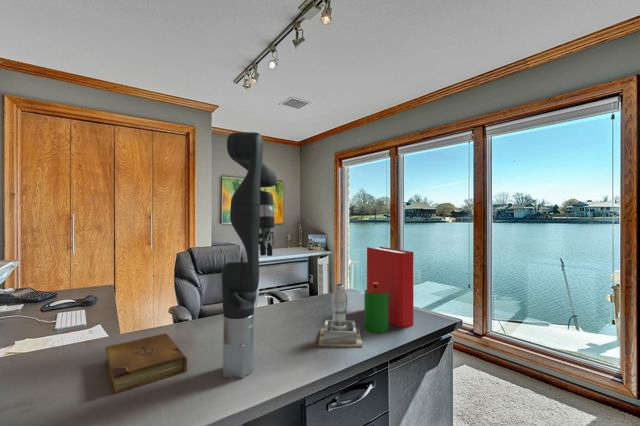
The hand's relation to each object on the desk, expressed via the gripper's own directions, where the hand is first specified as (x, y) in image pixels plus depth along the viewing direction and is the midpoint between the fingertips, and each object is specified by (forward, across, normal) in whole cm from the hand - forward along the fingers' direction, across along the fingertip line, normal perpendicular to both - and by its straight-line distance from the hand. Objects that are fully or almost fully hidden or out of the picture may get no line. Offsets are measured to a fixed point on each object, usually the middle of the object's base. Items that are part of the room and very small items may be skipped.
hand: (266, 255), depth 125 cm
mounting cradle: (+34, +3, -28) cm, 44 cm away
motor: (+34, +15, -42) cm, 56 cm away
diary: (+34, -28, +32) cm, 54 cm away
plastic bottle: (+33, +3, -27) cm, 43 cm away
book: (+32, +31, -49) cm, 66 cm away
